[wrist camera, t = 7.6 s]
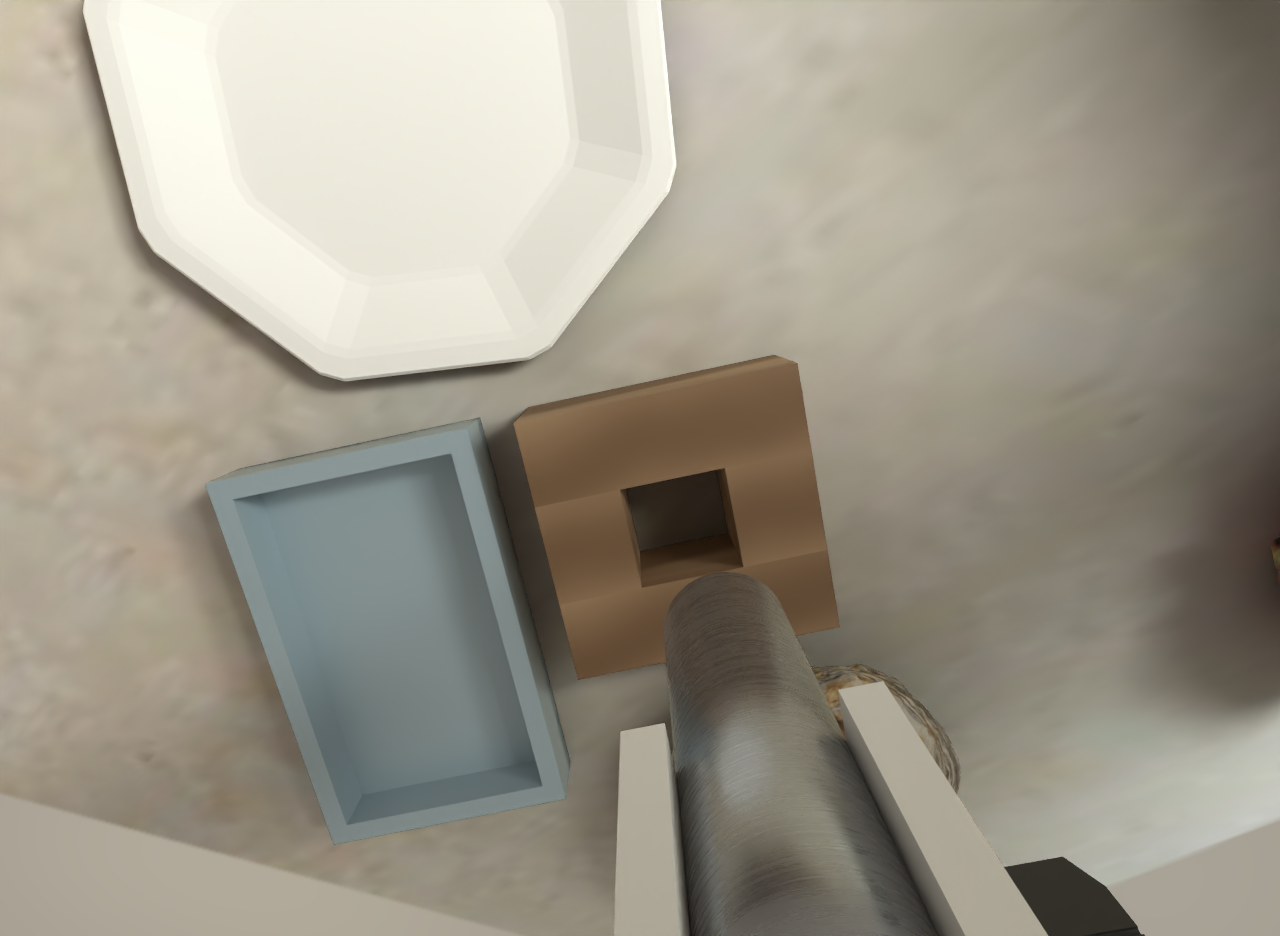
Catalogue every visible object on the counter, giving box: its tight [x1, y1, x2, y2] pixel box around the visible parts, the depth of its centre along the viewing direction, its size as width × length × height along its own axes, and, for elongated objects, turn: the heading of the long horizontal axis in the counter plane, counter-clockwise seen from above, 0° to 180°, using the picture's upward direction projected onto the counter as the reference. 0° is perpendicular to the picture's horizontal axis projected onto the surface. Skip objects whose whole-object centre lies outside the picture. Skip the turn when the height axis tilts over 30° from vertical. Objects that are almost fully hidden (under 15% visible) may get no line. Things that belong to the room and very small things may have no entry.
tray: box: [205, 418, 570, 845], centre depth 30 cm, size 16×10×2 cm, turn 12°
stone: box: [671, 664, 960, 794], centre depth 30 cm, size 14×10×10 cm
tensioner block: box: [513, 355, 840, 680], centre depth 28 cm, size 10×10×4 cm
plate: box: [83, 0, 676, 381], centre depth 26 cm, size 20×20×2 cm
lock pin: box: [664, 572, 939, 936], centre depth 10 cm, size 4×4×15 cm
